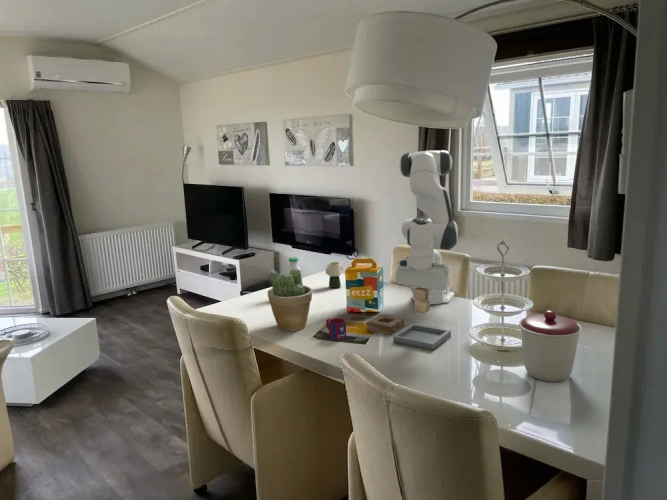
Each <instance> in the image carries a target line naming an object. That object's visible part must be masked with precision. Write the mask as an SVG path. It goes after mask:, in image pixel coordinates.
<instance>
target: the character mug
mask: <svg viewBox="0 0 667 500" xmlns="http://www.w3.org/2000/svg"><path fill="white" fill-rule="evenodd" d="M343 268H344V267H343V265H342V263H341V262H340V261H329V262H327V263H326V268H325V275H328V276H329V280H328V281H329V282H328V287H329V288H332V287H333V288H337V287H338V288H340V287H341V286H342V285H341V279H340V276H341V275H342V271H343Z"/></svg>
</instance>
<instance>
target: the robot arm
mask: <svg viewBox="0 0 667 500" xmlns="http://www.w3.org/2000/svg"><path fill="white" fill-rule="evenodd" d="M399 160H400V161H399V170H400V173H401V175H402V176H403V177H405V178H409V188H410V192H411V193H412V194H413V195H414V197H415V205H416V207H417V209H419V210H421V212H423V213H425V214H427V216H428V217H426V216H418V217H411V218H408V219H405V220H404V221H403V223H402V225H401V234H402V237H403V238H404V239H405V240H406V241H407V242H406V243H407V245H408V246H409V248H410V251H409V256H406V257H404V258H401V259H399V260H398V261H397V266H398V267H396V272H395V281H396V283H397V284H398V285H403V286H409V289H410V291H411V293H412V294H411V296H410V298H411V299H413V300H414V302H415V288H417V287H424V288H429V294H427V295H426V299H428V300H429V305H438V304H449V303H450V301H451V300H452V299H453V297H454V296H455V293H454V292H453V291H450V278H449V274H450V273H449V272H450V269H449V267H448V266H447V265H445V264H443V262H442V260H443V259H442V255H441V253H440V252H439V251H438V250H443V251H444V250H445V251H450V250H452V249H453V248H454V247H455V246H457V244H458V239H459V238H458V237H459V236H458V233H459V226H458V224H457V222H456V220H454V216H453V212H452V207H451V203H450V198H449V195H448V192H447V190H446V188H445V187H443V186H442V185H441V180H440V179H441V178H440V176H441V177H444V176H446V175H448V174H449V173H450V172H451V170H452V167H453V158H452V155H451V153H450V152H449V151H448V150H443V149H441V150H423V151H415V152H407V153H406V152H405V153H404V154H402V156H401V157H400V159H399Z"/></svg>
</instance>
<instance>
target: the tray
mask: <svg viewBox="0 0 667 500" xmlns="http://www.w3.org/2000/svg"><path fill="white" fill-rule="evenodd" d="M451 331H452V330H450V329H443V328H439V327H432V326H428V325H424V324H423V325H422V324H417V323H411V324H410V325H408V326H407V327H404V328H403V329H401V331H398V332H397V333H395V335H392V337H393V344H394V343H395V344H398V345H402V346H407V347H413V348H417V349H422V350H426V351H427V350H428V351H432V352H433V351H435V350H436V349H437V348H438V347H440V346H441V345H442V344H444V343H446V341H447V340H448V339H450V338H451V336H452V335H451V334H452V332H451Z"/></svg>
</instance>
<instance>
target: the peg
mask: <svg viewBox="0 0 667 500" xmlns="http://www.w3.org/2000/svg"><path fill="white" fill-rule="evenodd" d="M427 294H429V288H424V287H417V288H415V301H414V313H418V314H427V313H428V312H429V311H430V304H429V300H428V299H426V295H427Z"/></svg>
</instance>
